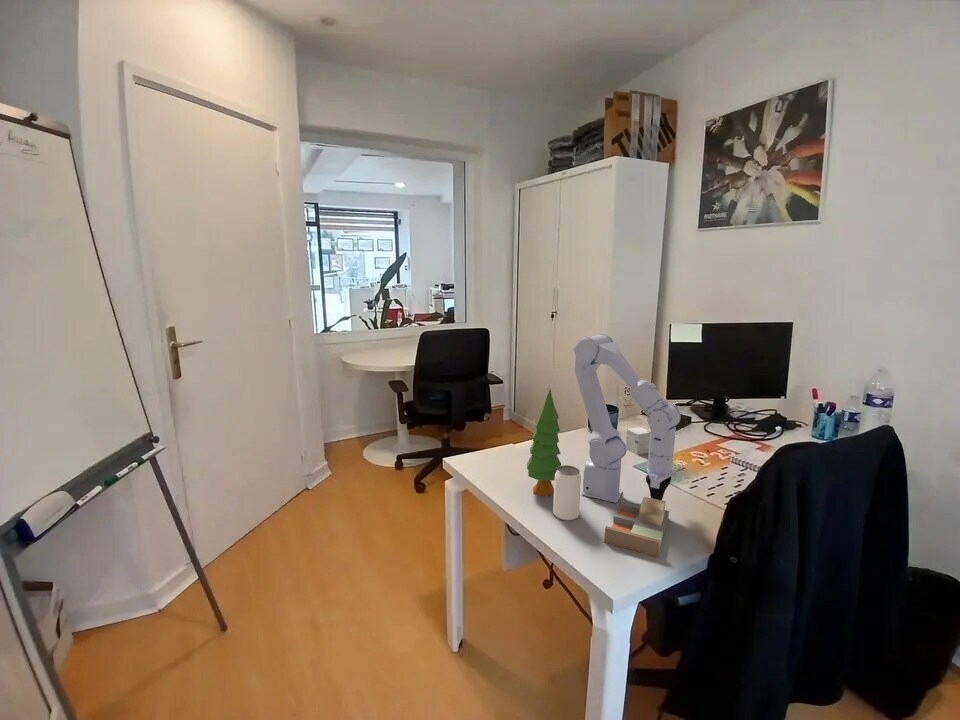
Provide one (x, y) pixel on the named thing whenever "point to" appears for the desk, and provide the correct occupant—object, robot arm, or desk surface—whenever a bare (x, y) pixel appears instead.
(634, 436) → the skincare box
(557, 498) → the can
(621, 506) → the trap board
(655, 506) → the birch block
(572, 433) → the desk surface
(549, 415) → the decorative tree
